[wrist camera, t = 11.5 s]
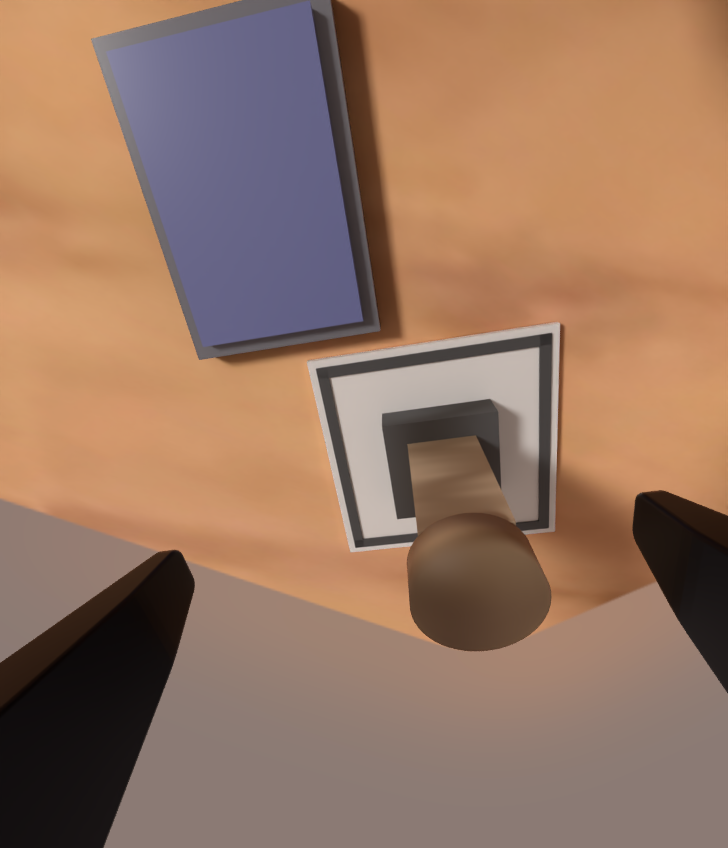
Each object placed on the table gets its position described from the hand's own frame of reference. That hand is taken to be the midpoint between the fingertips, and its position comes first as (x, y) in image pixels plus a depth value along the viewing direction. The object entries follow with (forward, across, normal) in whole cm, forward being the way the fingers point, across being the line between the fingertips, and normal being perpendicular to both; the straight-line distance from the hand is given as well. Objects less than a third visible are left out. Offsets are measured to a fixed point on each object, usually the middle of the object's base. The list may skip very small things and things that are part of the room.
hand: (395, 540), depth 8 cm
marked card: (+12, -2, +5) cm, 13 cm away
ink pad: (+12, +4, -7) cm, 14 cm away
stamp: (+11, -2, +5) cm, 12 cm away
